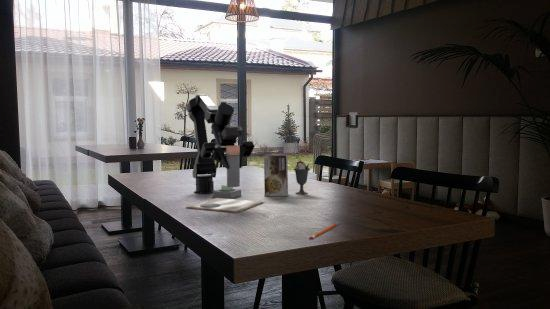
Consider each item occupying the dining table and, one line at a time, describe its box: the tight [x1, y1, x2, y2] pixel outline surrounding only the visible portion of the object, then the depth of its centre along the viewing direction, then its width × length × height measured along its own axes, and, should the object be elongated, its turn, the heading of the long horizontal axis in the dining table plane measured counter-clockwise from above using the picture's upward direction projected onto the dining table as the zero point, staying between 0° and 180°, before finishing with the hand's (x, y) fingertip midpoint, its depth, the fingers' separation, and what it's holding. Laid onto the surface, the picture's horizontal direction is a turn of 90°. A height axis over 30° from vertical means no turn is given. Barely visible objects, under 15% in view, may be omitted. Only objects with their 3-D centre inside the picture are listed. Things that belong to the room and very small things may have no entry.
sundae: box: [293, 156, 311, 196], centre depth 181 cm, size 7×7×15 cm
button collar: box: [212, 188, 242, 199], centre depth 175 cm, size 8×8×2 cm
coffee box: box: [263, 153, 289, 197], centre depth 178 cm, size 9×6×16 cm
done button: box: [221, 183, 234, 192], centre depth 175 cm, size 4×4×2 cm
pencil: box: [308, 222, 339, 240], centre depth 121 cm, size 1×19×1 cm, turn 150°
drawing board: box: [185, 198, 264, 214], centre depth 157 cm, size 20×19×1 cm
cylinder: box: [225, 144, 241, 188], centre depth 155 cm, size 5×5×14 cm
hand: (234, 167), depth 154 cm, fingers closed on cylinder, 4 cm apart
